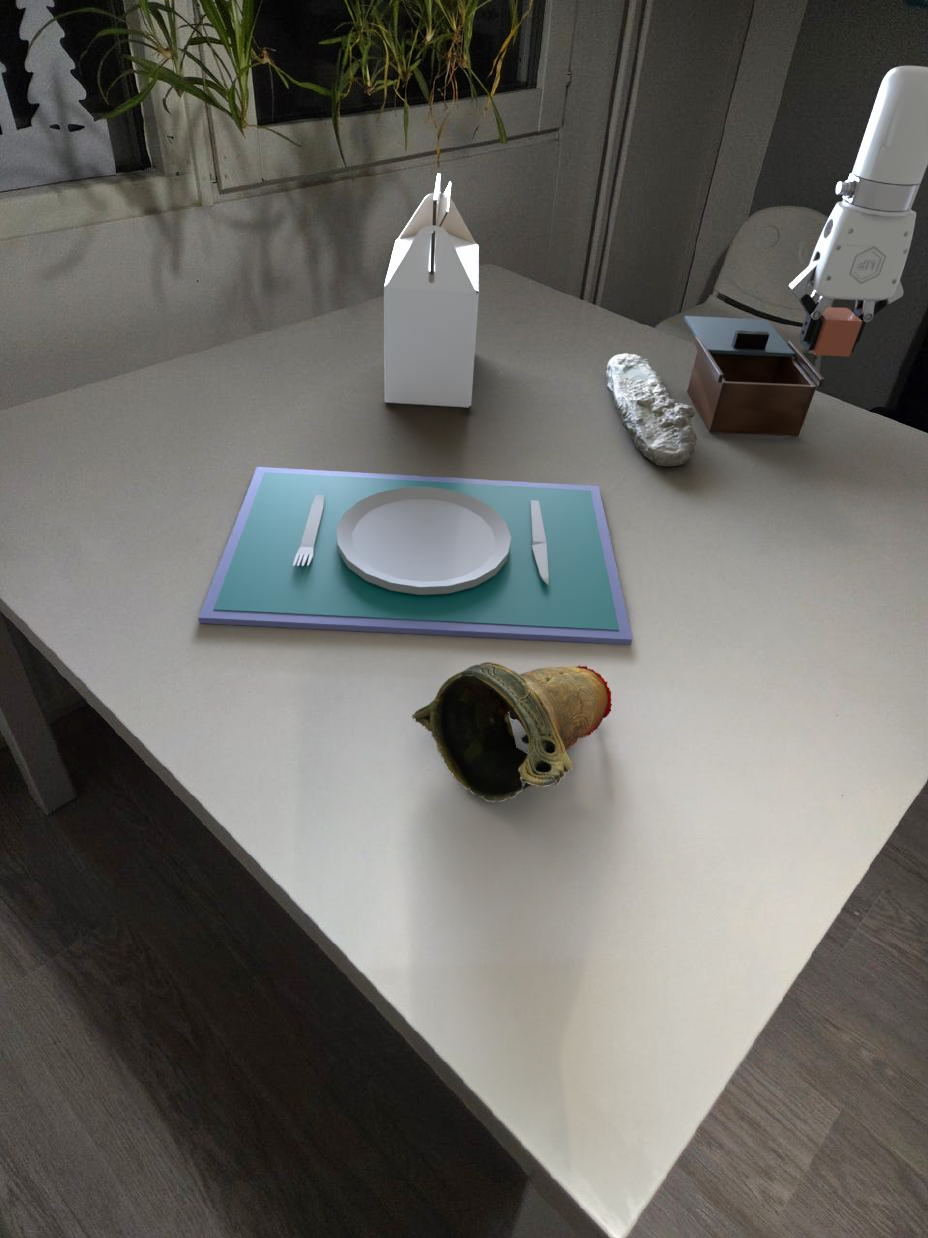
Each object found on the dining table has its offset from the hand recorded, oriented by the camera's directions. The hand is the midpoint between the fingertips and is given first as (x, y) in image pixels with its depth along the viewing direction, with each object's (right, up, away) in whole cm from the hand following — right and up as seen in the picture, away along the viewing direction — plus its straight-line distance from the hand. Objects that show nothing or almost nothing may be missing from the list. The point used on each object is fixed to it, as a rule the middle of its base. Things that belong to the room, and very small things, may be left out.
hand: (826, 345), depth 107 cm
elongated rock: (-19, -4, +20) cm, 28 cm away
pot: (-43, -49, -34) cm, 73 cm away
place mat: (-52, -28, -10) cm, 60 cm away
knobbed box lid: (-3, +10, +25) cm, 27 cm away
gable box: (-53, +4, +26) cm, 59 cm away
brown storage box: (-4, -3, +23) cm, 23 cm away
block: (0, 0, 0) cm, 0 cm away
